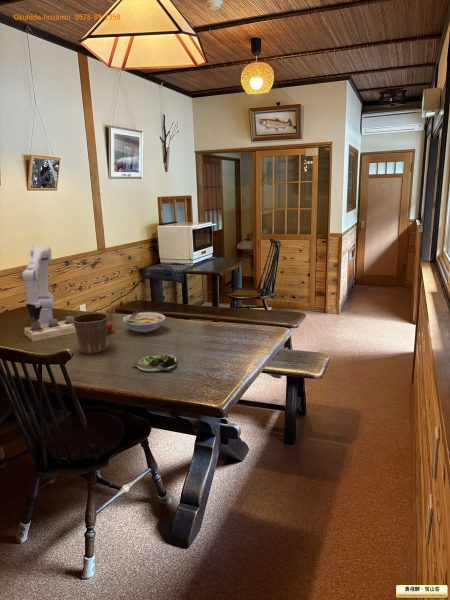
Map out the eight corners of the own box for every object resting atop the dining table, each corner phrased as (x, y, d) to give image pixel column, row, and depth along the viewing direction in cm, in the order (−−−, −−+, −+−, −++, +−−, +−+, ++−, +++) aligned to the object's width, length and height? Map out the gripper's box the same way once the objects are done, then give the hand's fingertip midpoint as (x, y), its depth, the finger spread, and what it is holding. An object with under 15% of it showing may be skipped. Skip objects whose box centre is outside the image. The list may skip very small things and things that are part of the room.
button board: (24, 334, 230) (23, 327, 229) (74, 324, 247) (73, 318, 246) (33, 341, 219) (32, 334, 218) (85, 330, 236) (84, 323, 235)
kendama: (88, 344, 219) (117, 330, 232) (84, 332, 218) (113, 319, 231) (80, 343, 225) (108, 330, 237) (76, 332, 223) (105, 319, 236)
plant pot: (73, 357, 198) (70, 323, 194) (75, 345, 213) (73, 314, 209) (110, 354, 202) (108, 320, 198) (110, 342, 217) (107, 311, 213)
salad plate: (129, 375, 179) (128, 365, 178) (134, 359, 196) (133, 350, 195) (176, 373, 180) (176, 363, 179) (177, 358, 198) (176, 348, 197)
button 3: (64, 324, 240) (64, 316, 239) (72, 323, 242) (72, 315, 241) (67, 326, 236) (67, 318, 235) (75, 324, 239) (75, 317, 238)
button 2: (48, 327, 234) (47, 319, 233) (56, 326, 237) (55, 318, 236) (51, 329, 231) (50, 321, 230) (59, 328, 233) (58, 320, 232)
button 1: (30, 331, 228) (29, 322, 227) (39, 329, 231) (38, 321, 230) (33, 333, 225) (32, 324, 224) (42, 331, 228) (41, 323, 227)
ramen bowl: (162, 338, 224) (161, 323, 222) (118, 338, 224) (117, 322, 222) (169, 324, 248) (168, 310, 246) (129, 324, 248) (128, 310, 246)
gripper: (19, 291, 226) (22, 316, 229) (28, 296, 215) (31, 322, 219) (34, 289, 230) (36, 314, 234) (42, 294, 220) (45, 320, 223)
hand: (35, 318), depth 226 cm, fingers open, 6 cm apart
